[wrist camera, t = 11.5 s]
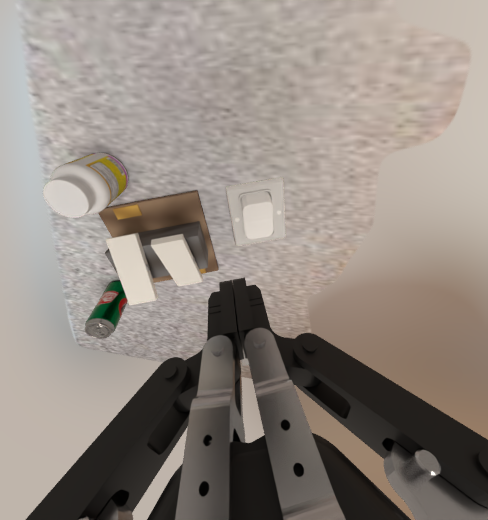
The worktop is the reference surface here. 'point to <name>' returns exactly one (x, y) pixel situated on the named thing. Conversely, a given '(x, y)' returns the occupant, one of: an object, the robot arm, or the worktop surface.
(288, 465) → the robot arm
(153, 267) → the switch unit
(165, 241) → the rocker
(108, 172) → the supplement bottle
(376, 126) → the worktop surface
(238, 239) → the light switch
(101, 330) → the soda can
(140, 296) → the block
